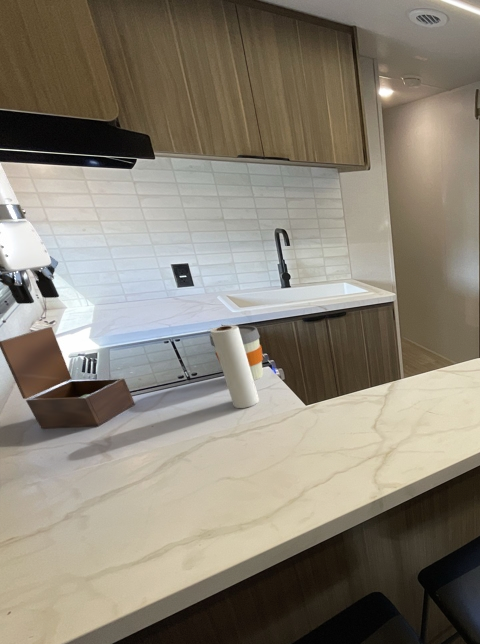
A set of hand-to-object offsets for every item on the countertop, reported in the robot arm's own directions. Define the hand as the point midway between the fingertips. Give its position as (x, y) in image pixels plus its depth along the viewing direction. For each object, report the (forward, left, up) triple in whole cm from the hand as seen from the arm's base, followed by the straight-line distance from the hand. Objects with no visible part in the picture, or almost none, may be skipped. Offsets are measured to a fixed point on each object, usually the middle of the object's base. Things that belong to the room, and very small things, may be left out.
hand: (38, 299), depth 91 cm
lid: (-3, +6, -15) cm, 17 cm away
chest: (0, +1, -30) cm, 30 cm away
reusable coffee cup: (+32, -15, -31) cm, 46 cm away
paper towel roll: (+20, -31, -31) cm, 48 cm away
